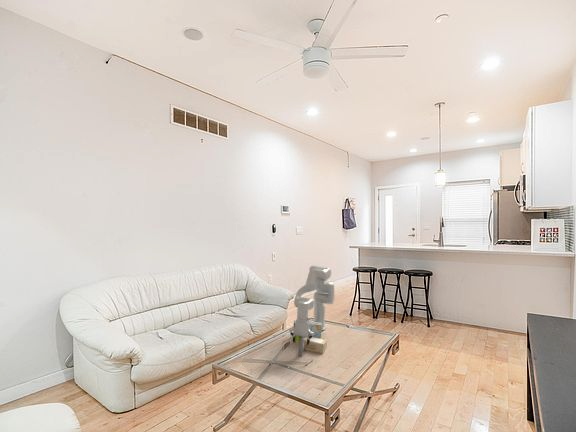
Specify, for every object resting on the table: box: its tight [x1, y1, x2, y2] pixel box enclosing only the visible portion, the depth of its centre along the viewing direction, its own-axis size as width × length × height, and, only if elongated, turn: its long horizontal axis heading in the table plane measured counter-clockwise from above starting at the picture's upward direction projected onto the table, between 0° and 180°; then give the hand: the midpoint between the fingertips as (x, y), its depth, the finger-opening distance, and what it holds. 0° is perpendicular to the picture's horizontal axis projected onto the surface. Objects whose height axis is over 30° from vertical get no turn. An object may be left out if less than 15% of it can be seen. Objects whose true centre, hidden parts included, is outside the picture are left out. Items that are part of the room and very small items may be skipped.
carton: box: [303, 337, 328, 354], centre depth 231 cm, size 8×16×7 cm, turn 67°
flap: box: [298, 338, 305, 357], centre depth 224 cm, size 12×3×12 cm, turn 174°
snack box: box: [292, 320, 322, 343], centre depth 242 cm, size 21×6×15 cm, turn 84°
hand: (300, 343), depth 219 cm, fingers open, 9 cm apart
